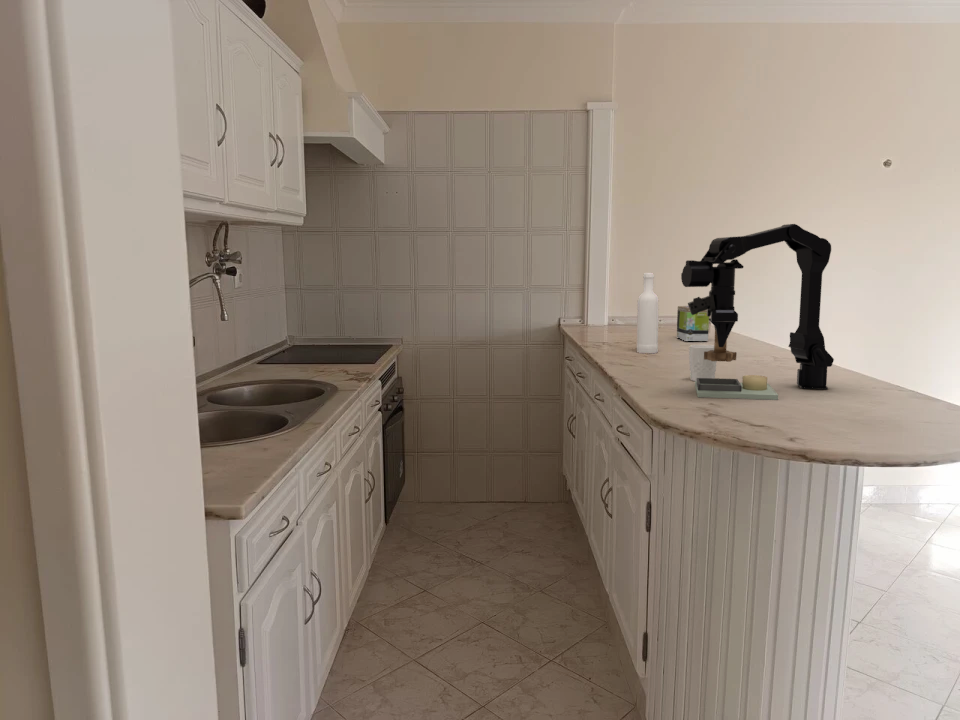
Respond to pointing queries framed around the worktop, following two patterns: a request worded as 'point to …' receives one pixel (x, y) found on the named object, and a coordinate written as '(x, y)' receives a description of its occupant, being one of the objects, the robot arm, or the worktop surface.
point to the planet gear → (719, 352)
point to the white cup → (701, 362)
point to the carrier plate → (736, 388)
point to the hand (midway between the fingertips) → (720, 346)
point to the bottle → (647, 317)
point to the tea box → (692, 325)
